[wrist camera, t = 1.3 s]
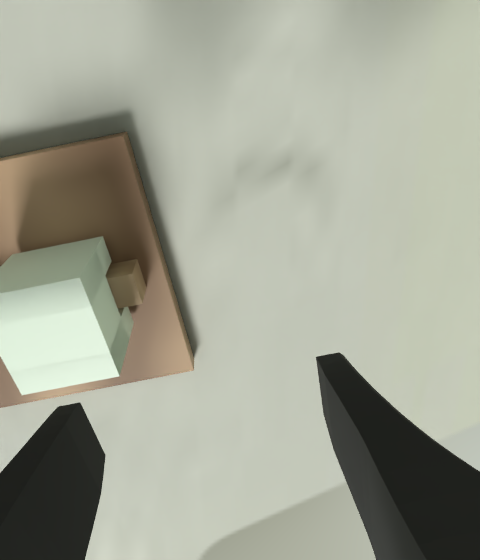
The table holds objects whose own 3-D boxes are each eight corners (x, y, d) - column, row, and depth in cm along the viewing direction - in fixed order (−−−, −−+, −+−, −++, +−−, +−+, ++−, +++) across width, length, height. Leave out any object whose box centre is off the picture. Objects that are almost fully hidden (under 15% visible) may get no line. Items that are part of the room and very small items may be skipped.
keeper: (51, 338, 21) (21, 395, 18) (12, 254, 19) (-31, 299, 16) (133, 322, 21) (119, 376, 18) (102, 236, 19) (79, 277, 15)
